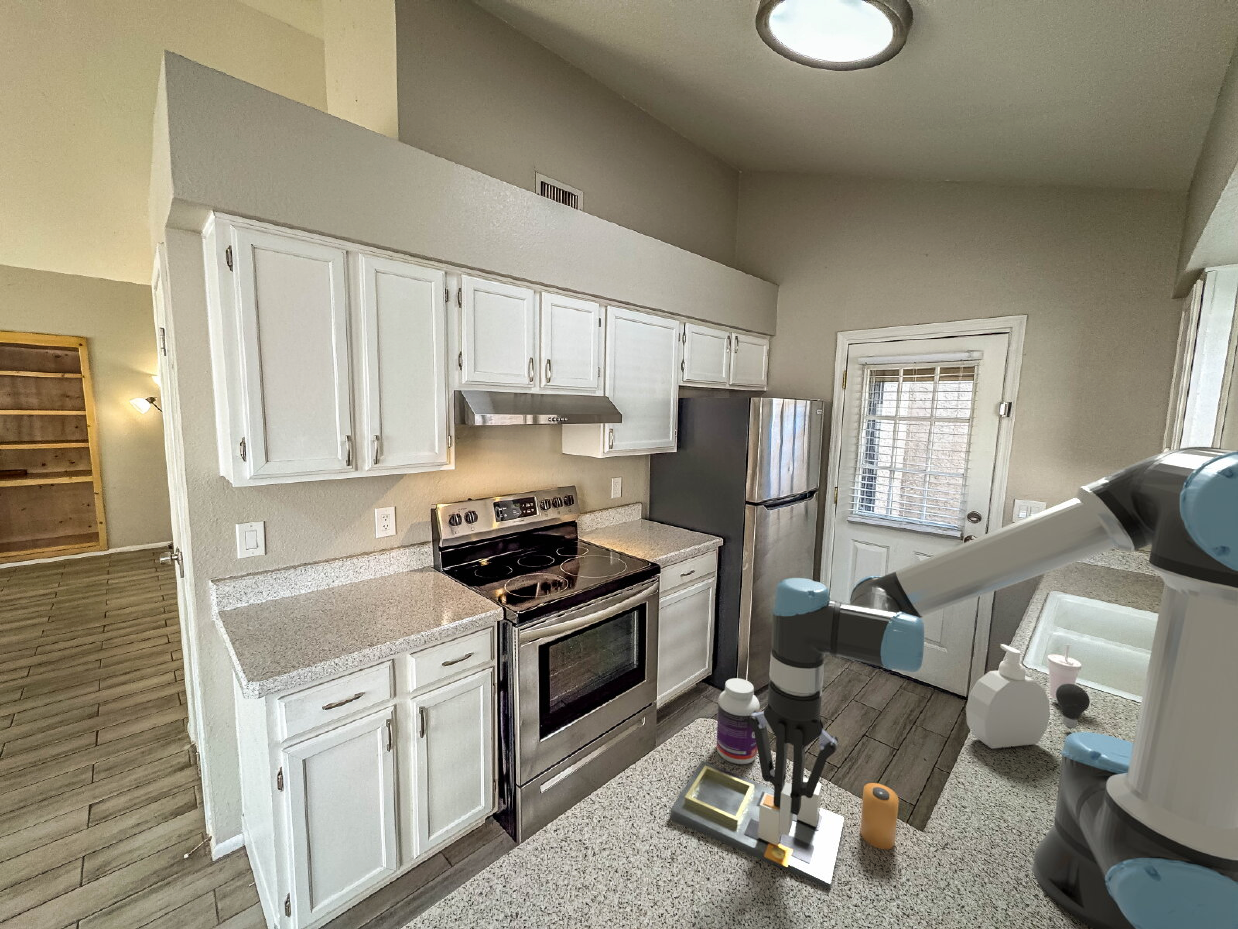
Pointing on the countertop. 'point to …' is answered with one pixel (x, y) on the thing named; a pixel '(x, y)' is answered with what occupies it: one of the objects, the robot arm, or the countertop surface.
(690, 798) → the breaker panel
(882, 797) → the cap
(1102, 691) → the countertop surface
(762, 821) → the block
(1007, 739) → the soap bottle
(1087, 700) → the light bulb
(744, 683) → the pill bottle
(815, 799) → the breaker
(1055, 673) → the smoothie
